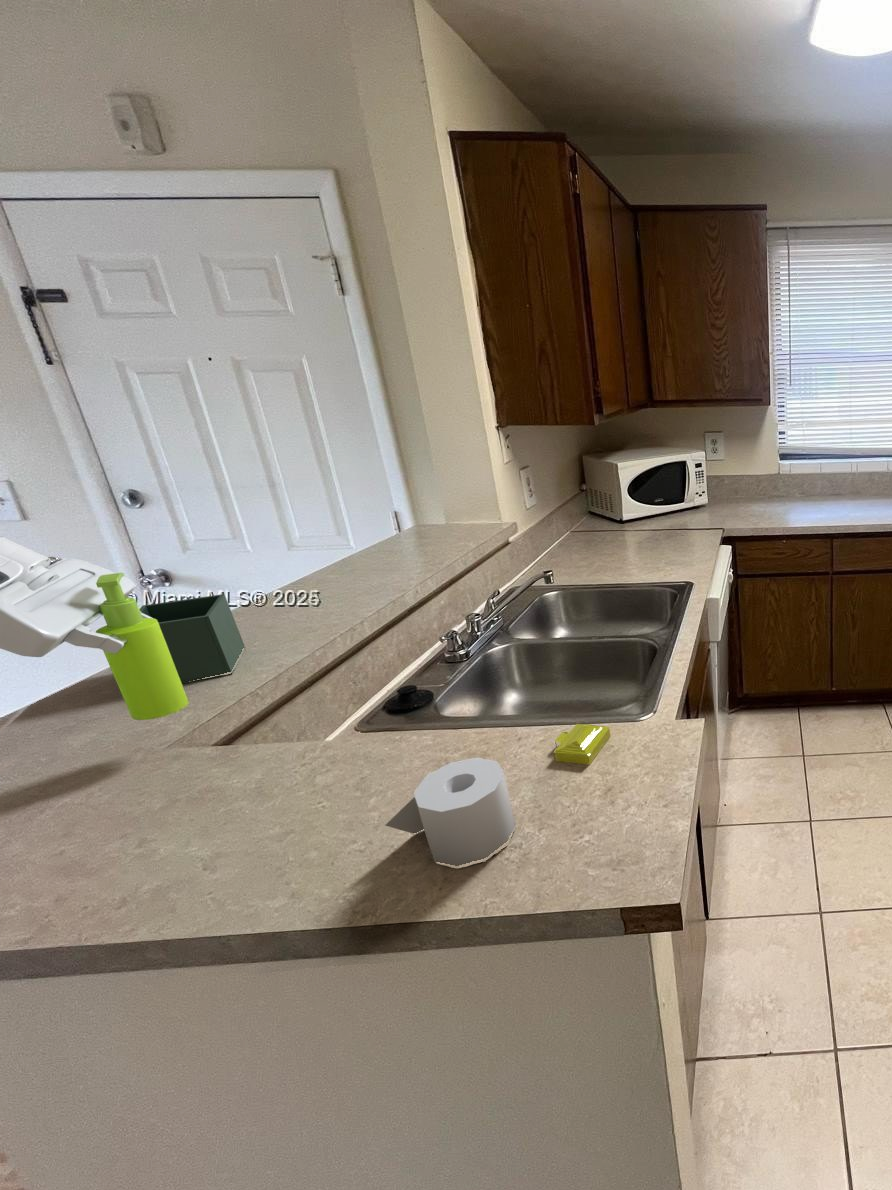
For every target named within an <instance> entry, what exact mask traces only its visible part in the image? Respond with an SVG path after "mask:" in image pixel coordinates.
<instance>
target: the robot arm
mask: <svg viewBox="0 0 892 1190" xmlns="http://www.w3.org/2000/svg"><path fill="white" fill-rule="evenodd" d="M115 573H116V572H115V571H113V570H110V569H108V568H105V567H103V566H100V565H98V564H95V563H93V562H90V561H86V560H83V559H80V558H67V557H64V558H61V557H55V556H46V555H43V554H41V553H39V552H37V551H35V550H32V549H30V548H28V547H26V546H23V545H22V544H19V543H18V542H15V541H14V540H11V539H9V538H7V537H4V536H2V535H0V649H1V650H3V651H6V652H9V653H12V654H15V655H18V656H21V657H30V658H43V657H44V656H46V655H48V653H50V652H52V651H53V650H54V649H56V648H57V647H59V646H60V645H62V644H63V643H68V644H70V645H72V646H75V647H82V648H88V649H89V648H90V649H98V650H102V651H103V650H104V651H106V652H109V653H111V654H115V653H117V652H119V651H120V650H121V649H122V648H123V647H124V646H125V645H126V644H127V643H128V641H127V640H126V639H125V638H121V637H120V636H118V635H115V634H112V635H111V636H108V635H104V634H100V633H96V631H92V630H93V629H92V628H91V627H89V625H91V624H93V623H94V622H95V621H97V620H98V619H99V618H101V617H102V616H103V614H102V611H101V609H100V606H99V605H100V604H101V603H103V602H104V601H106V600H107V599H106V597H105V595H104V592H103V590H102V587H99V588H98V587H97V585H96V583H97V580H98V578H99V577H100V576H101V575H107V574H115ZM119 583H120V586H121V588H122V591H123V593H124V596H125V597H130V595H131V594H132V593H133V591H135V589H136V588H137V584H136V583H135V582H134V581H133V580H132V579H130V578H129V577H126V576H125V575H124V576H123V577H122V578H121V580H120V582H119ZM140 612H141V611H140ZM141 615H142V617H143V618H152V617H150V616H147V615H145V614H143V613H141ZM103 617H104V616H103ZM104 651H103V652H104Z"/></svg>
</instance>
